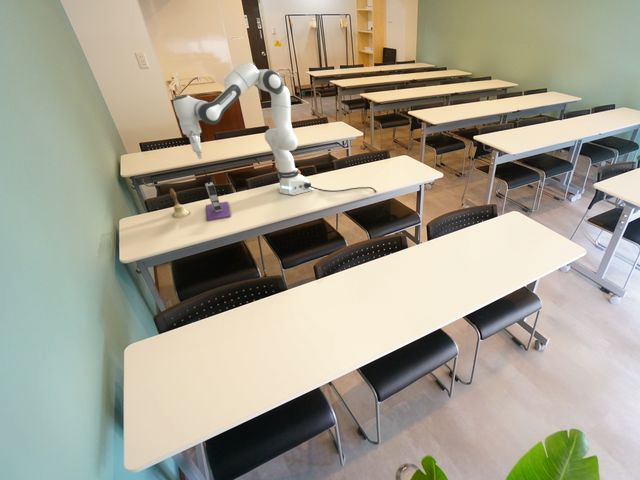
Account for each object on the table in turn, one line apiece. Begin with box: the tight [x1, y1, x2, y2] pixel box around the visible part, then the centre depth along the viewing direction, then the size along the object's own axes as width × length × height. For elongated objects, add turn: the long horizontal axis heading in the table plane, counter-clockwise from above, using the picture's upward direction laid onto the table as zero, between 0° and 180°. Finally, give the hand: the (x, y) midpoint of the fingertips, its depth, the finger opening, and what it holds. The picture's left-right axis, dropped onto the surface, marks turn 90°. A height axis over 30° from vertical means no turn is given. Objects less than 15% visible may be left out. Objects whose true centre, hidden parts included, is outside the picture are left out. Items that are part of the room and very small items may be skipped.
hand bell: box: [169, 188, 190, 218], centre depth 198 cm, size 8×8×16 cm
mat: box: [206, 201, 231, 221], centre depth 206 cm, size 12×22×1 cm, turn 27°
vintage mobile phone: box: [203, 169, 222, 212], centre depth 198 cm, size 4×5×25 cm
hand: (200, 155), depth 187 cm, fingers open, 8 cm apart
